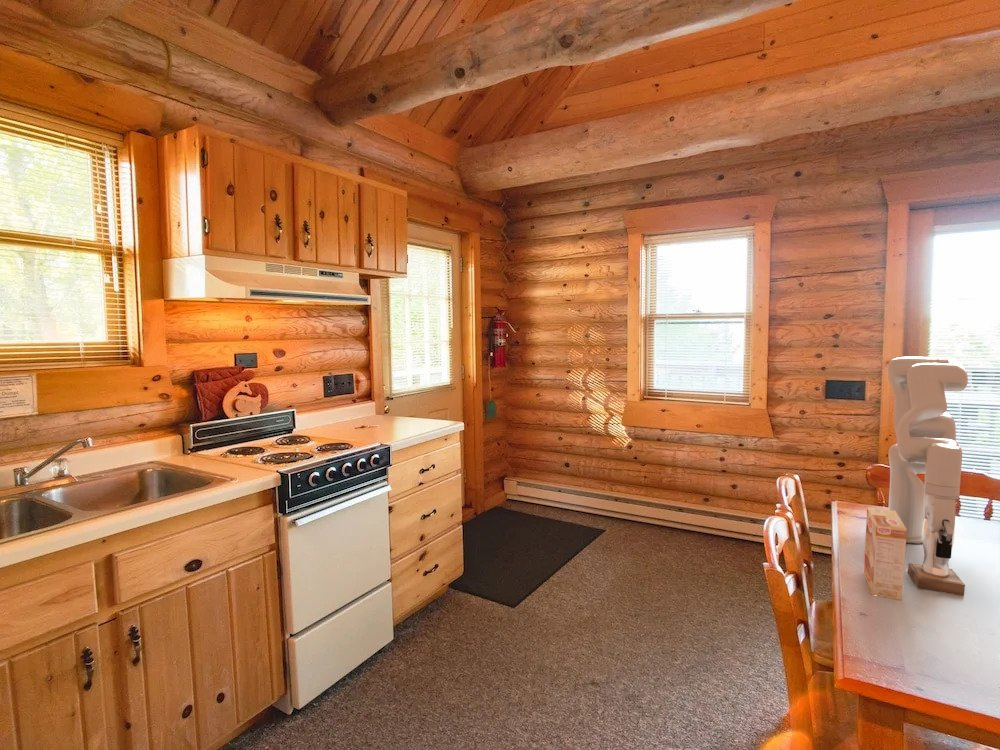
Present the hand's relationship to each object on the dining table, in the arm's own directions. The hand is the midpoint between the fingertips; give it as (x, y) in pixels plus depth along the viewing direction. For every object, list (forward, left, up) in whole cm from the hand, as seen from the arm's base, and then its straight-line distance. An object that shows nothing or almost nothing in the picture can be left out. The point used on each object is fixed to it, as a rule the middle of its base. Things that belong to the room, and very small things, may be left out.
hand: (937, 550), depth 152 cm
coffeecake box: (+6, -13, -10) cm, 18 cm away
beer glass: (0, 0, -7) cm, 7 cm away
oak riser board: (0, 0, -10) cm, 10 cm away
